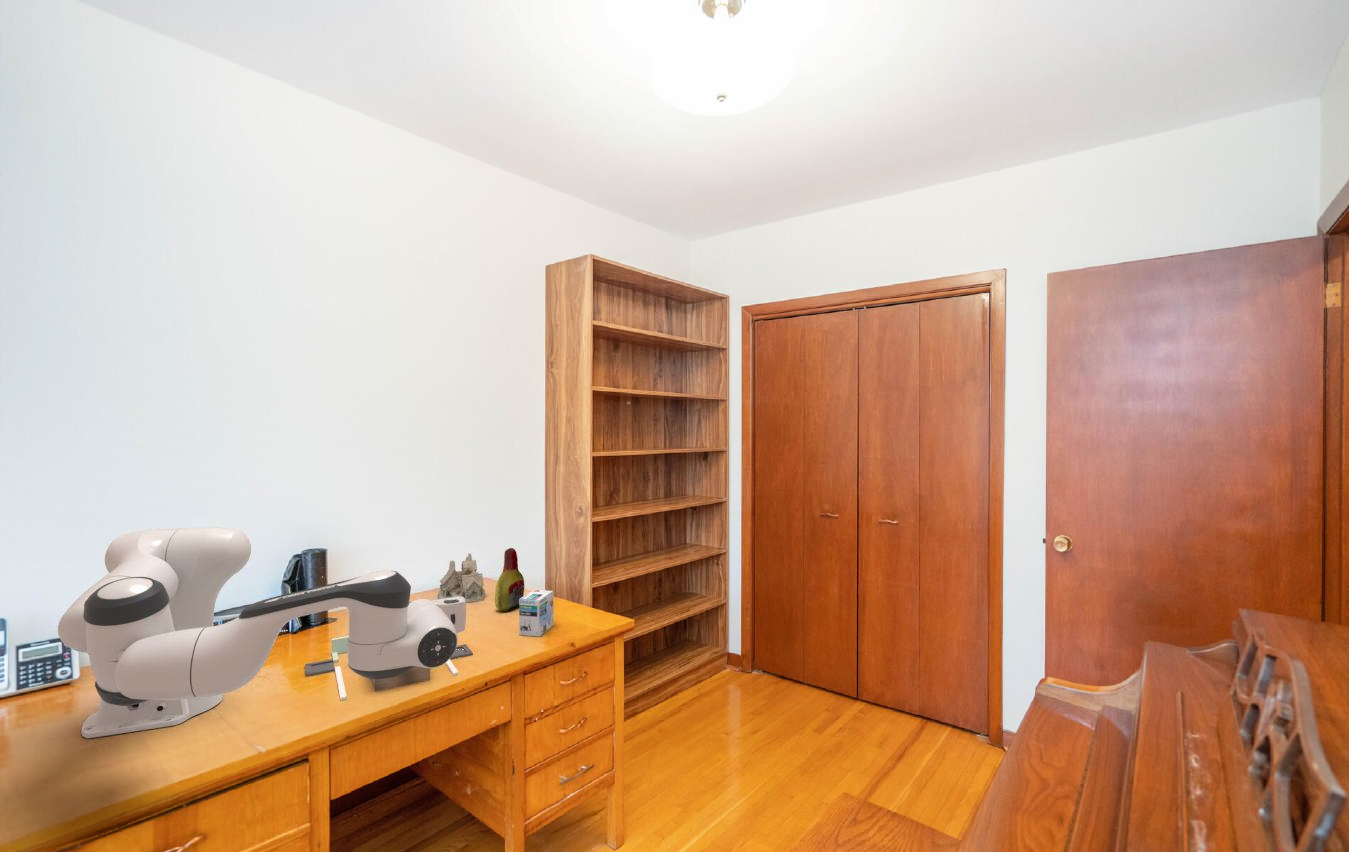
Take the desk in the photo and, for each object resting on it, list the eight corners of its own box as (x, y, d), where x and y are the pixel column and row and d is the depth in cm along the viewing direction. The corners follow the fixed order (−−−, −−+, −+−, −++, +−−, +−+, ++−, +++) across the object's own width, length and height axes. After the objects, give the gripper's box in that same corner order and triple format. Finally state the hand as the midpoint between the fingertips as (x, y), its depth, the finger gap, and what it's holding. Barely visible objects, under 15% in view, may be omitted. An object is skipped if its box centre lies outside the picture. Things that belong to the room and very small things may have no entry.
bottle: (516, 602, 206) (516, 544, 206) (530, 605, 203) (530, 546, 203) (490, 611, 196) (490, 550, 196) (504, 614, 193) (504, 553, 193)
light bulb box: (539, 637, 173) (539, 600, 173) (518, 635, 174) (518, 598, 174) (554, 625, 183) (554, 590, 183) (534, 623, 184) (534, 588, 184)
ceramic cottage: (437, 593, 217) (439, 552, 216) (485, 590, 222) (486, 551, 221) (435, 608, 202) (436, 565, 201) (485, 605, 207) (487, 563, 206)
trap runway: (307, 707, 130) (307, 689, 130) (304, 658, 157) (304, 643, 157) (483, 668, 150) (483, 653, 150) (454, 631, 177) (454, 617, 177)
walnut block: (374, 692, 137) (374, 649, 137) (369, 673, 148) (369, 633, 148) (430, 680, 144) (430, 639, 144) (421, 663, 154) (421, 624, 154)
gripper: (363, 649, 114) (356, 628, 126) (472, 629, 125) (457, 611, 137) (363, 616, 114) (356, 598, 126) (472, 599, 125) (457, 584, 137)
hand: (409, 605), depth 131 cm, fingers closed
